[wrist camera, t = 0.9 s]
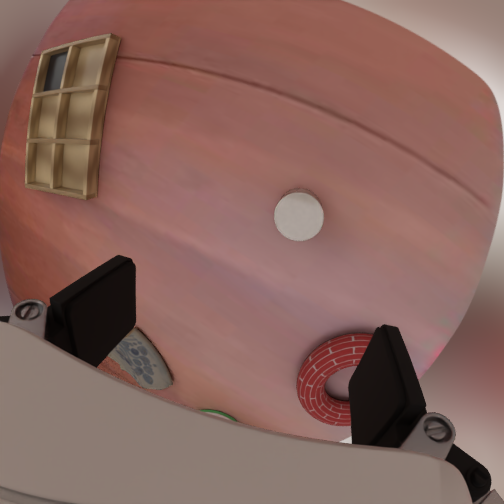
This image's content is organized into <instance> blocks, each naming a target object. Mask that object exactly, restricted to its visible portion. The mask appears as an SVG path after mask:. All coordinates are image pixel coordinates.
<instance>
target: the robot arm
mask: <svg viewBox="0 0 504 504" xmlns="http://www.w3.org/2000/svg"><path fill="white" fill-rule="evenodd" d="M50 304H51V305H50V306H49V307H47V305H46V304H45V303H44V302H43V301H41V300H38V299H27V300H23V301H21V302H19V303H17V304H16V305H15V306H14V307H13V309H12V311H11V315H10V316H0V504H504V501H503V500H502V498H501V497H500V496H499V494H498V493H497V492H496V490H495V489H494V490H492V491H490V487H491V476H490V473H489V472H488V470H487V469H486V468H485V467H484V466H483V465H482V464H480V463H479V462H478V461H476V460H475V459H473V458H472V457H471V456H469V455H468V454H467V453H465V452H464V451H463V450H461V449H460V448H459V447H457V446H456V445H455V444H453V442H454V440H455V436H456V433H455V428H454V426H453V424H452V423H451V422H450V420H449V419H448V418H446V417H445V416H443V415H441V414H439V413H435V412H432V413H427V411H426V408H425V407H426V402H425V399H424V396H423V393H422V390H421V387H420V384H419V381H418V379H417V376H416V373H415V370H414V367H413V365H412V362H411V359H410V357H409V354H408V351H407V349H406V346H405V344H404V341H403V339H402V336H401V334H400V331H399V329H398V327H394V326H389V325H385V324H384V325H382V326H381V328H380V327H377V328H376V330H375V332H374V334H373V336H372V338H371V340H370V342H369V344H368V346H367V348H366V350H365V352H364V354H363V356H362V358H361V360H360V362H359V364H358V366H357V368H356V370H355V372H354V373H353V375H352V377H351V379H350V382H349V386H348V389H349V402H350V416H351V433H352V444H348V443H341V442H333V441H327V440H320V439H313V438H307V437H302V436H296V435H291V434H286V433H281V432H276V431H272V430H267V429H263V428H259V427H255V426H251V425H247V424H243V423H239V422H236V421H232V420H228V419H225V418H222V417H218V416H215V415H212V414H209V413H205V412H202V411H199V410H196V409H193V408H190V407H187V406H185V405H182V404H179V403H176V402H174V401H171V400H168V399H166V398H163V397H161V396H158V395H156V394H153V393H151V392H148V391H146V390H143V389H141V388H139V387H136V386H134V385H132V384H129V383H127V382H125V381H123V380H121V379H118V378H116V377H114V376H112V375H110V374H108V373H106V372H104V371H102V370H100V369H98V368H97V366H98V365H99V364H100V363H101V362H102V361H103V360H104V359H105V358H106V357H107V356H108V354H109V353H110V352H111V351H112V350H113V349H114V348H115V347H116V346H117V345H118V344H119V343H120V342H121V341H122V339H123V338H124V337H125V336H126V335H127V334H128V333H129V332H130V331H131V330H132V329H133V328H134V326H135V323H136V266H135V264H134V263H133V261H132V259H130V258H127V257H124V256H121V255H117V256H115V257H114V258H112V259H110V260H109V261H107V262H105V263H104V264H102V265H101V266H99V267H97V268H96V269H94V270H93V271H91V272H89V273H88V274H86V275H85V276H83V277H81V278H80V279H78V280H77V281H75V282H74V283H72V284H71V285H69V286H67V287H66V288H64V289H63V290H61V291H60V292H58V293H57V294H55V295H54V296H52V297H51V298H50Z"/></svg>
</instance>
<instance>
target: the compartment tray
mask: <svg viewBox="0 0 504 504" xmlns="http://www.w3.org/2000/svg"><path fill="white" fill-rule="evenodd" d="M120 41H121V37H118V36H116V35H114V34H112V33H110V34H105V35H100V36H95V37H91V38H86V39H82V40H78V41H74V42H71V43H67V44H63V45H60V46H57V47H53V48H50V49H47V50H44V51H42V53H41V57H40V61H39V66H38V70H37V74H36V79H35V84H34V90H33V95H32V101H31V108H30V115H29V123H28V133H27V145H26V162H25V188H30V189H35V190H40V191H45V192H50V193H54V194H59V195H64V196H69V197H73V198H78V199H83V200H88V199H91V198H95V197H97V188H98V172H99V159H100V149H101V140H102V132H103V124H104V117H105V111H106V105H107V99H108V94H109V88H110V83H111V78H112V74H113V69H114V65H115V60H116V56H117V52H118V48H119V45H120Z"/></svg>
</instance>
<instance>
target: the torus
mask: <svg viewBox="0 0 504 504" xmlns="http://www.w3.org/2000/svg"><path fill="white" fill-rule="evenodd" d="M372 336H373V335H372V334H365V333H354V334H347V335H342V336H339V337H336V338H333V339H331V340H329V341H327V342H325V343H323V344H322V345H320V346H319V347H318V348H316V349H315V350H314V351H313V352H312V353H311V354H310V355H309V356H308V358H307V359H306V360H305V362H304V363H303V365H302V367H301V369H300V371H299V374H298V378H297V394H298V398H299V400H300V403H301V405H302V406H303V408H304V409H305V410H306V411H307V412H308V413H309V414H310V415H311V416H312V417H314V418H315V419H317V420H319V421H321V422H323V423H326V424H330V425H335V426H351V416H350V402H349V401H339V400H336V399H333V398H331V397H330V396H329V395H328V394H327V393H326V391H325V388H324V387H325V383H326V381H327V379H328V378H329V377H330V376H331V375H332V374H334V373H335V372H337V371H339V370H341V369H343V368H346V367H350V366H358V364H359V362H360V360H361V358H362V356H363V354H364V352H365V350H366V348H367V346H368V344H369V342H370V340H371V338H372Z"/></svg>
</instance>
